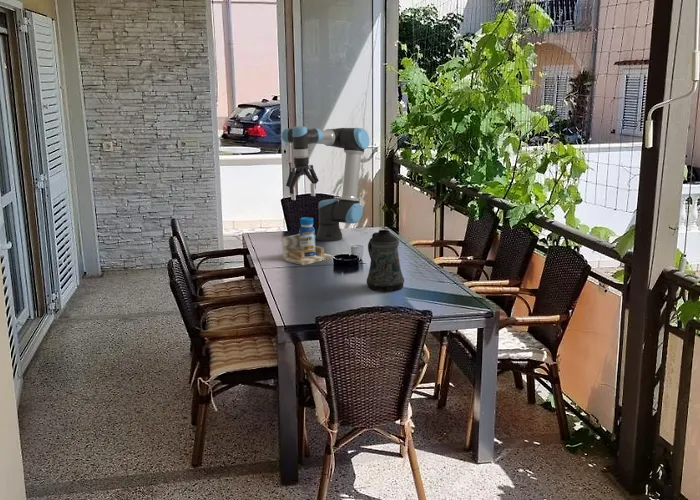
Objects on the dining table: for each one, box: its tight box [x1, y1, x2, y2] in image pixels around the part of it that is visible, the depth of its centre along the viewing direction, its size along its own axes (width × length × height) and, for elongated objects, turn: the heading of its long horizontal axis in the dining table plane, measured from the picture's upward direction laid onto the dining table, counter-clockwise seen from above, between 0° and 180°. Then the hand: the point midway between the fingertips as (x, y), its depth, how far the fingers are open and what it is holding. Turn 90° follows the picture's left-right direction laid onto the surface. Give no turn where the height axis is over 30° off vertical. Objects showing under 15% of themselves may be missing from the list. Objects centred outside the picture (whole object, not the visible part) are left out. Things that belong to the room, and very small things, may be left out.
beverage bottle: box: [298, 216, 317, 258], centre depth 352 cm, size 8×8×20 cm
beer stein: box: [366, 229, 405, 293], centre depth 299 cm, size 16×19×25 cm
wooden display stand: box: [281, 233, 333, 266], centre depth 353 cm, size 20×16×12 cm
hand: (303, 197), depth 357 cm, fingers open, 13 cm apart
